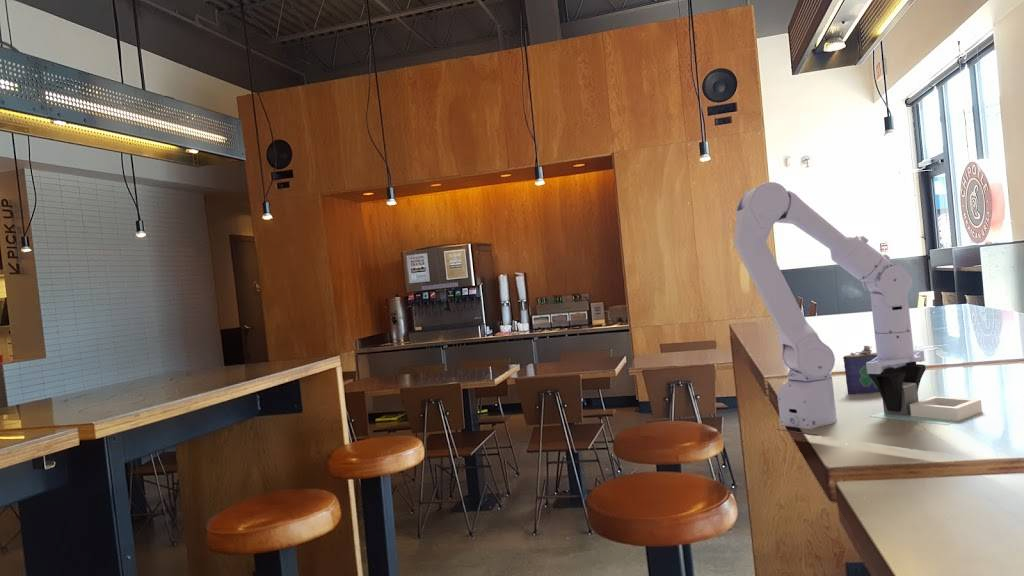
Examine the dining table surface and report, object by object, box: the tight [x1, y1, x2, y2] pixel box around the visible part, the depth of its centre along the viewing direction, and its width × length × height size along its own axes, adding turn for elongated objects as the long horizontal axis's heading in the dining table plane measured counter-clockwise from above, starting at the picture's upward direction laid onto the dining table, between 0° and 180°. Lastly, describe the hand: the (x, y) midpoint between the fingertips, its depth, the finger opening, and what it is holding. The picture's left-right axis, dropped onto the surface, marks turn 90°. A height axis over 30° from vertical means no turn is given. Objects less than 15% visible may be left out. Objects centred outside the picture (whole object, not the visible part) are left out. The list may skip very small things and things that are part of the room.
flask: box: [843, 345, 880, 395], centre depth 142 cm, size 9×3×11 cm, turn 87°
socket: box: [910, 395, 983, 422], centre depth 117 cm, size 8×8×2 cm
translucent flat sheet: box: [869, 410, 983, 426], centre depth 118 cm, size 11×13×1 cm
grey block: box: [882, 382, 920, 416], centre depth 121 cm, size 4×4×5 cm
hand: (901, 408), depth 121 cm, fingers closed on grey block, 4 cm apart
